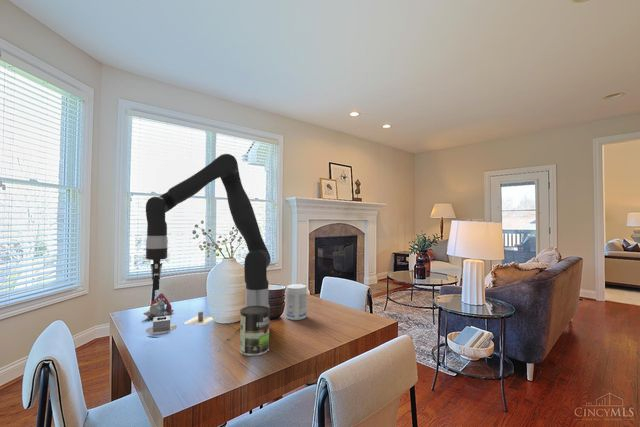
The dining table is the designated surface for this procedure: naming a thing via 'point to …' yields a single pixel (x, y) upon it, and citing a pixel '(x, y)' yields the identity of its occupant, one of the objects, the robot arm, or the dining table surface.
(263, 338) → the coffee can
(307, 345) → the dining table surface
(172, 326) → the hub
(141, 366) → the dining table surface
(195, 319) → the stand
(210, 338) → the dining table surface
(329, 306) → the dining table surface
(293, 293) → the supplement tub
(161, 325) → the square socket block
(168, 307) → the brake caliper
